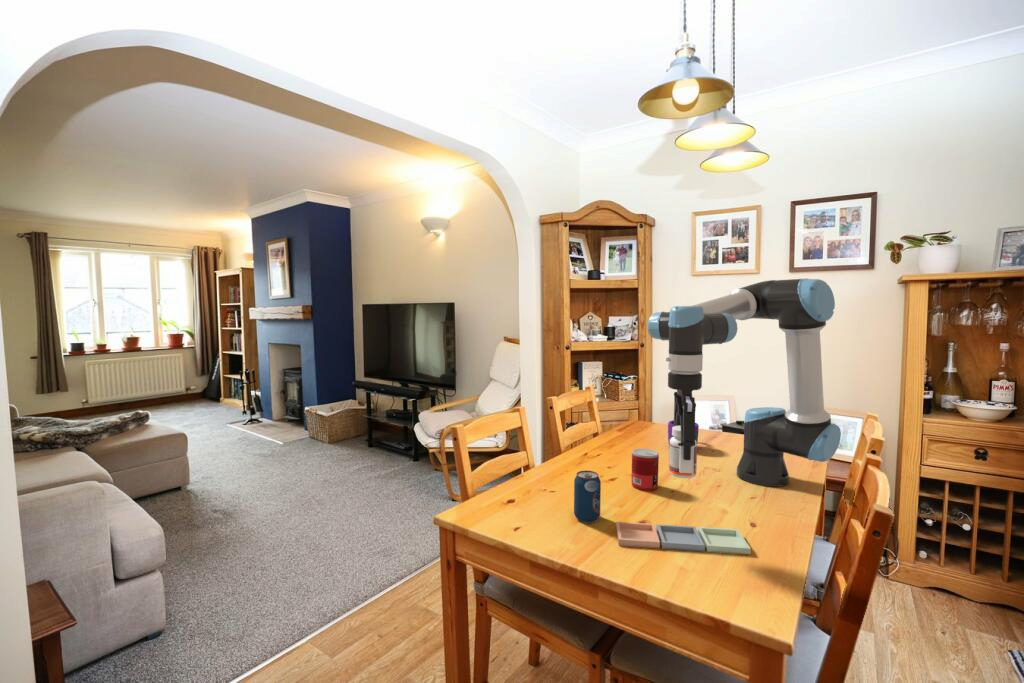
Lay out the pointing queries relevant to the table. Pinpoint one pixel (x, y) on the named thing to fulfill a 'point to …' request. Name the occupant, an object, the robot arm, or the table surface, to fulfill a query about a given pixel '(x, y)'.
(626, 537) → the dish terracotta
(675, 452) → the pill bottle
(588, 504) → the soda can
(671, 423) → the mug
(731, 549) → the dish sage
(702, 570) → the table surface
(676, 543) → the dish slate
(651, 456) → the canned food
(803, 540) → the table surface
